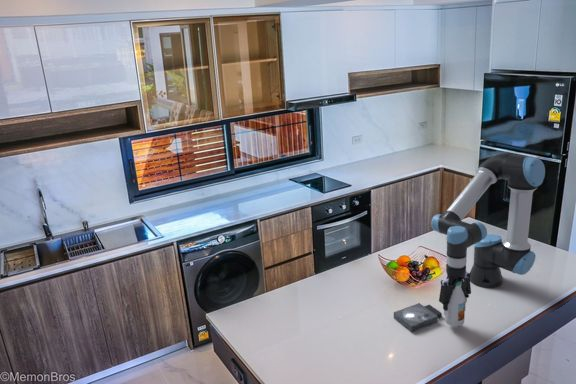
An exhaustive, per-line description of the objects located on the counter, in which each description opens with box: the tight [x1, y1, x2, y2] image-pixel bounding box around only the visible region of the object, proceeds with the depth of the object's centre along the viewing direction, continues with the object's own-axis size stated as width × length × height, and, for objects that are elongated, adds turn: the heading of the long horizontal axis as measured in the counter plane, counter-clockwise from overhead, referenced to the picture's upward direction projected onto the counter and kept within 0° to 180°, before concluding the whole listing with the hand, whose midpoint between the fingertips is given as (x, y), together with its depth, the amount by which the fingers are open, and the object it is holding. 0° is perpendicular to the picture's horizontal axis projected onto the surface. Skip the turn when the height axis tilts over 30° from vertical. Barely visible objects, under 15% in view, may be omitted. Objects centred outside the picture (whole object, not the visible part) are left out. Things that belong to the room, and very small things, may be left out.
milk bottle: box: [444, 280, 466, 327], centre depth 197 cm, size 8×8×20 cm
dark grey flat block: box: [393, 302, 443, 333], centre depth 208 cm, size 18×12×3 cm, turn 115°
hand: (454, 312), depth 199 cm, fingers closed on milk bottle, 8 cm apart
